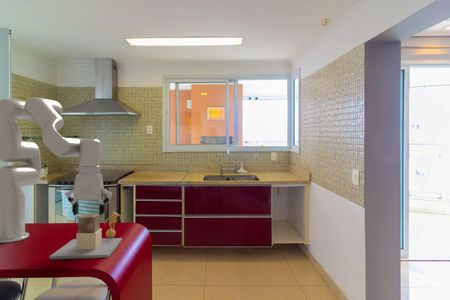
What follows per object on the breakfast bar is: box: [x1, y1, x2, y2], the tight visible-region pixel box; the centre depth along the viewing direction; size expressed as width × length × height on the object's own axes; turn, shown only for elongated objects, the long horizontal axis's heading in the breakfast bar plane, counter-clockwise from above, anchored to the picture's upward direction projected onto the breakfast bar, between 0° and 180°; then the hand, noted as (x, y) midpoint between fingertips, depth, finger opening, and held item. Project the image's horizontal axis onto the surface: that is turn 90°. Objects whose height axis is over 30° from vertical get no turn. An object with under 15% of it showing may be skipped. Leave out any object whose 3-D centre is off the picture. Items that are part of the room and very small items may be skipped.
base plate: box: [49, 227, 123, 260], centre depth 114 cm, size 20×20×7 cm
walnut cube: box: [77, 213, 101, 233], centre depth 114 cm, size 6×6×6 cm
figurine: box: [104, 210, 122, 238], centre depth 127 cm, size 8×6×12 cm
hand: (88, 214), depth 114 cm, fingers open, 9 cm apart
